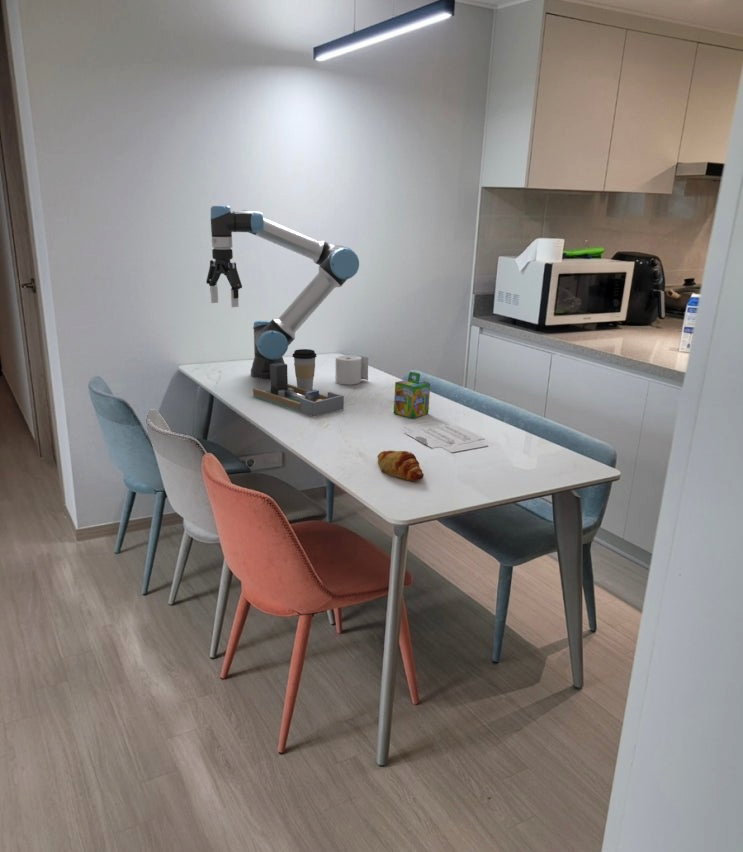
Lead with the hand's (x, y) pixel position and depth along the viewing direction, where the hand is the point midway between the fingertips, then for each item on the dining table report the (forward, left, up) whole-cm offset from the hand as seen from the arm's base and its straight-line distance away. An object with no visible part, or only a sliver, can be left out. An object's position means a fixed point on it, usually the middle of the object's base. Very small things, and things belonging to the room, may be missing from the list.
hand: (224, 304), depth 274 cm
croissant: (+19, +111, -32) cm, 117 cm away
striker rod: (-4, +37, -30) cm, 48 cm away
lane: (-4, +35, -32) cm, 47 cm away
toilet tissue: (-40, +28, -32) cm, 59 cm away
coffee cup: (-19, +25, -32) cm, 45 cm away
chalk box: (-25, +76, -32) cm, 86 cm away
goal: (-4, +52, -32) cm, 61 cm away
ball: (-4, +51, -30) cm, 59 cm away
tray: (-14, +100, -33) cm, 106 cm away
